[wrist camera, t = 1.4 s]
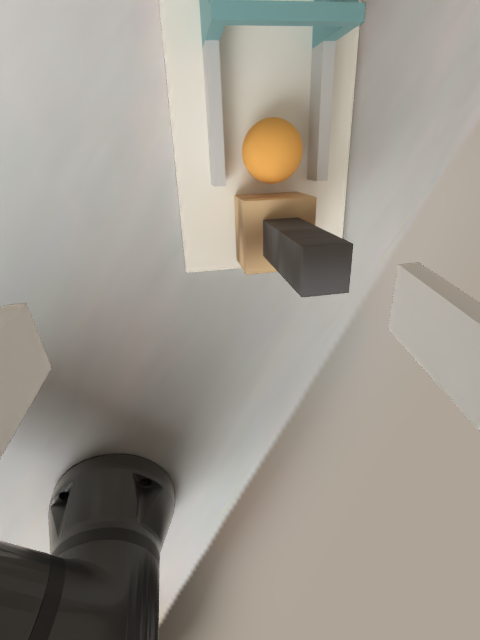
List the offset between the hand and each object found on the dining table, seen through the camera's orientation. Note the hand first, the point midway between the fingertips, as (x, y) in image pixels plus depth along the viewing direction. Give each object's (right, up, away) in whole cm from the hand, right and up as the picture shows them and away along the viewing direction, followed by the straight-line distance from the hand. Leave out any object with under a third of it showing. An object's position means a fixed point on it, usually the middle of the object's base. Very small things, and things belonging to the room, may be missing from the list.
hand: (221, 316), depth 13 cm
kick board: (+3, +19, +19) cm, 27 cm away
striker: (+3, +9, +22) cm, 24 cm away
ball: (+3, +14, +17) cm, 22 cm away
